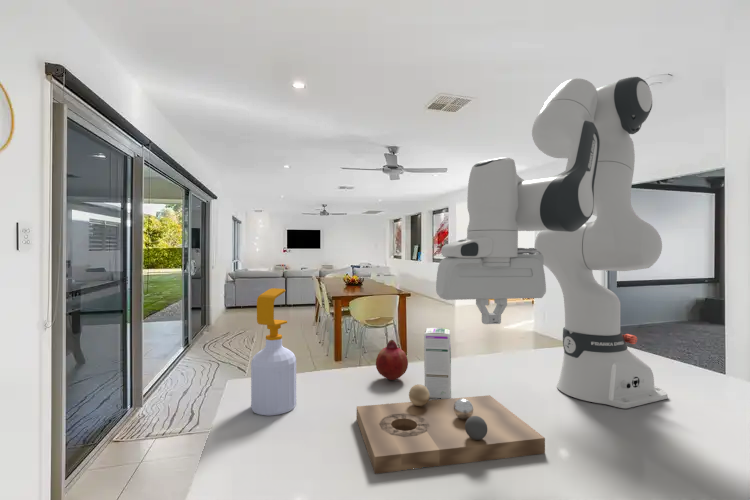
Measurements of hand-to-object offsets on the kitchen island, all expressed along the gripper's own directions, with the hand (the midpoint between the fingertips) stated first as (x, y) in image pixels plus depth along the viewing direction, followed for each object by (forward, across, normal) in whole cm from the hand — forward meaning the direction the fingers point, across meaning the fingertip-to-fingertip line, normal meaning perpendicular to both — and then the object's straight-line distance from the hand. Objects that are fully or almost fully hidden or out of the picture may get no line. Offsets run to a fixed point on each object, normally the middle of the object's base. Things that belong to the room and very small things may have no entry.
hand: (491, 323), depth 69 cm
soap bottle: (+20, +39, -18) cm, 48 cm away
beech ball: (+15, +11, -7) cm, 20 cm away
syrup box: (+20, +3, -18) cm, 27 cm away
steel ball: (+15, +5, 0) cm, 16 cm away
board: (+20, +9, 0) cm, 22 cm away
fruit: (+20, +11, -29) cm, 37 cm away
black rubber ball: (+15, +6, +7) cm, 18 cm away
